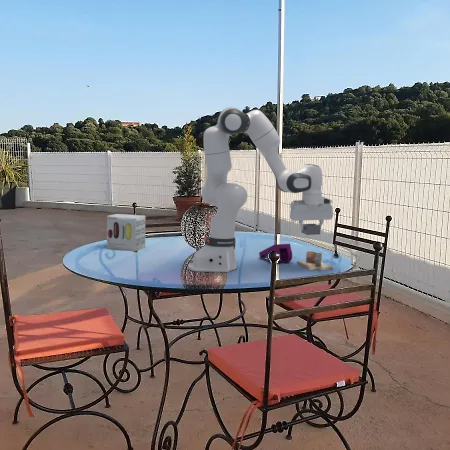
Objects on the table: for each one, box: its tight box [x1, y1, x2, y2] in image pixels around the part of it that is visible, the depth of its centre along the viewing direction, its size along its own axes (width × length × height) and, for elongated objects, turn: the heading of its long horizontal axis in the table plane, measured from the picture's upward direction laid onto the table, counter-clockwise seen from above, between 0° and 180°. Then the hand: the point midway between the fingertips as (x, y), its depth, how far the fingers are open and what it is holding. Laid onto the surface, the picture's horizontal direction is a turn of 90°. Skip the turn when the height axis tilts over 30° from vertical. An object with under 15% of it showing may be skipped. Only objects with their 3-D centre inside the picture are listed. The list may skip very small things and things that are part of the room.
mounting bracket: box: [258, 243, 293, 264], centre depth 229 cm, size 9×8×18 cm
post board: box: [296, 250, 334, 271], centre depth 218 cm, size 12×14×7 cm
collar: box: [300, 223, 322, 236], centre depth 211 cm, size 6×6×4 cm
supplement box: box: [106, 213, 146, 252], centre depth 249 cm, size 17×13×18 cm
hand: (310, 229), depth 211 cm, fingers closed on collar, 6 cm apart
